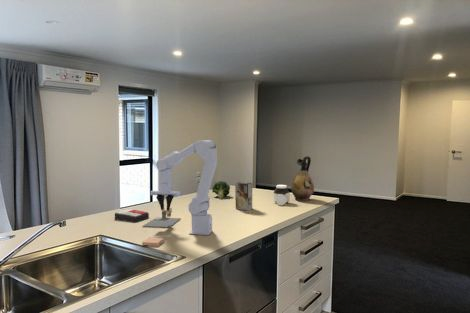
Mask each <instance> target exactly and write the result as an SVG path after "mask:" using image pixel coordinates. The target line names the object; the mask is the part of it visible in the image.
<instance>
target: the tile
mask: <svg viewBox="0 0 470 313" xmlns="http://www.w3.org/2000/svg"><path fill="white" fill-rule="evenodd" d="M164 242H165V237H153V236H151V237H150V236H149V237H148V238H146V239H145V240H143V241H142V243H141V245H148V246H147V247H155V246H158V247H159V246H160V244H161V243H162V244H163V243H164ZM162 244H161V245H162Z"/></svg>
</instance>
